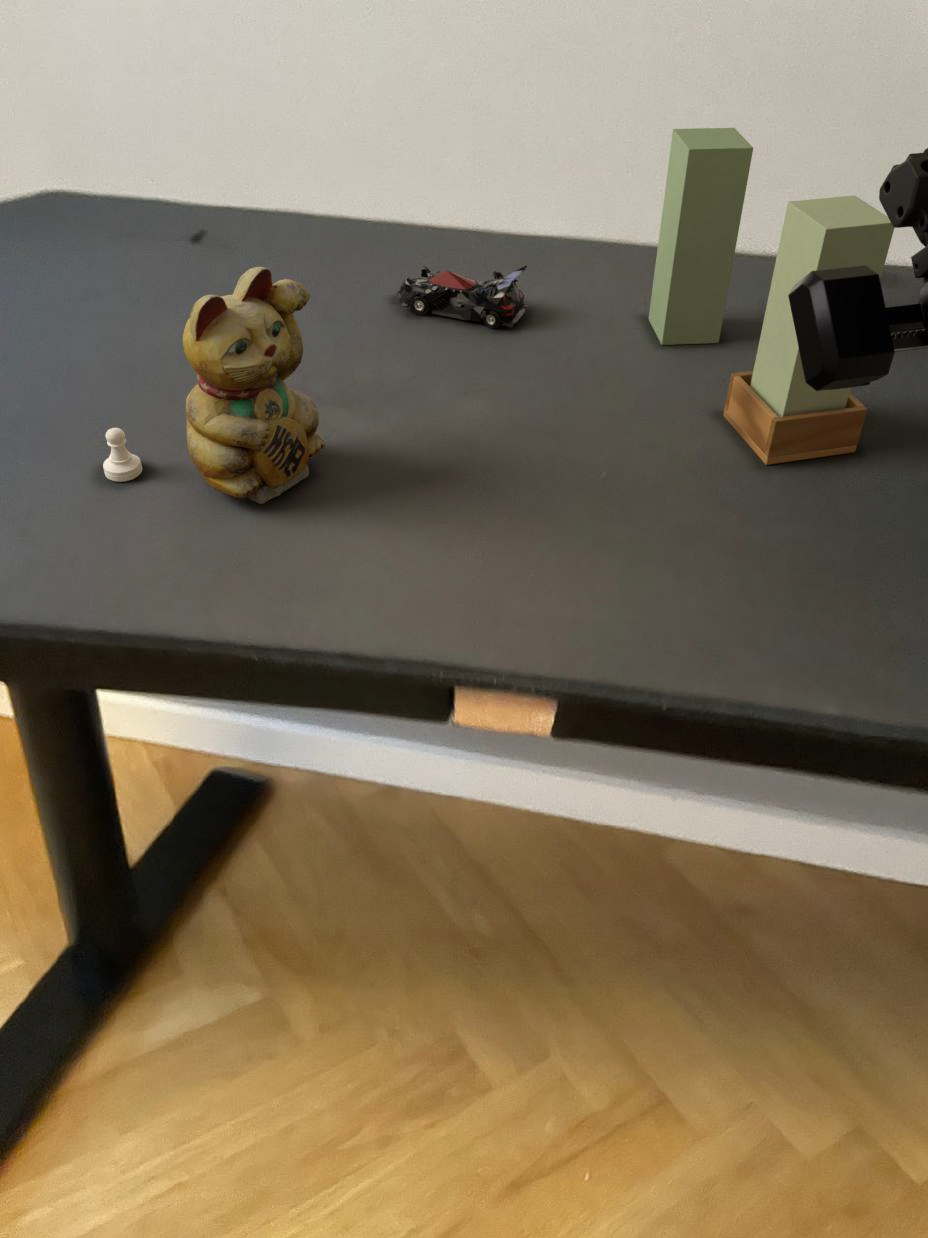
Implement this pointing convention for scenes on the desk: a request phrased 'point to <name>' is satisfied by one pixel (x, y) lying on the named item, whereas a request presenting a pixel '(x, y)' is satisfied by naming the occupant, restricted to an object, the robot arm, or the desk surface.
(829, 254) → the sage green pillar
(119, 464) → the chess pawn
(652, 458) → the desk surface
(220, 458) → the decorative figurine
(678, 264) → the pillar
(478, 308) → the toy car
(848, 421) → the small open wooden box
